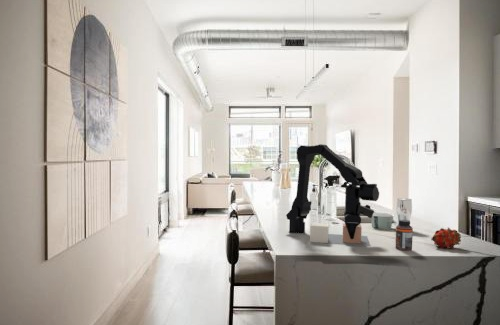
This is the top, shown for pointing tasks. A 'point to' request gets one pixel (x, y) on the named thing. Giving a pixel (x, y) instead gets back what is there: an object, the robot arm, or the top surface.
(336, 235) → the mat
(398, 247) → the supplement bottle
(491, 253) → the top surface
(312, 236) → the ivory rectangular chunk
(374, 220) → the food container
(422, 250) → the top surface
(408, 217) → the beer glass
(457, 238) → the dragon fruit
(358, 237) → the salmon pink cube
